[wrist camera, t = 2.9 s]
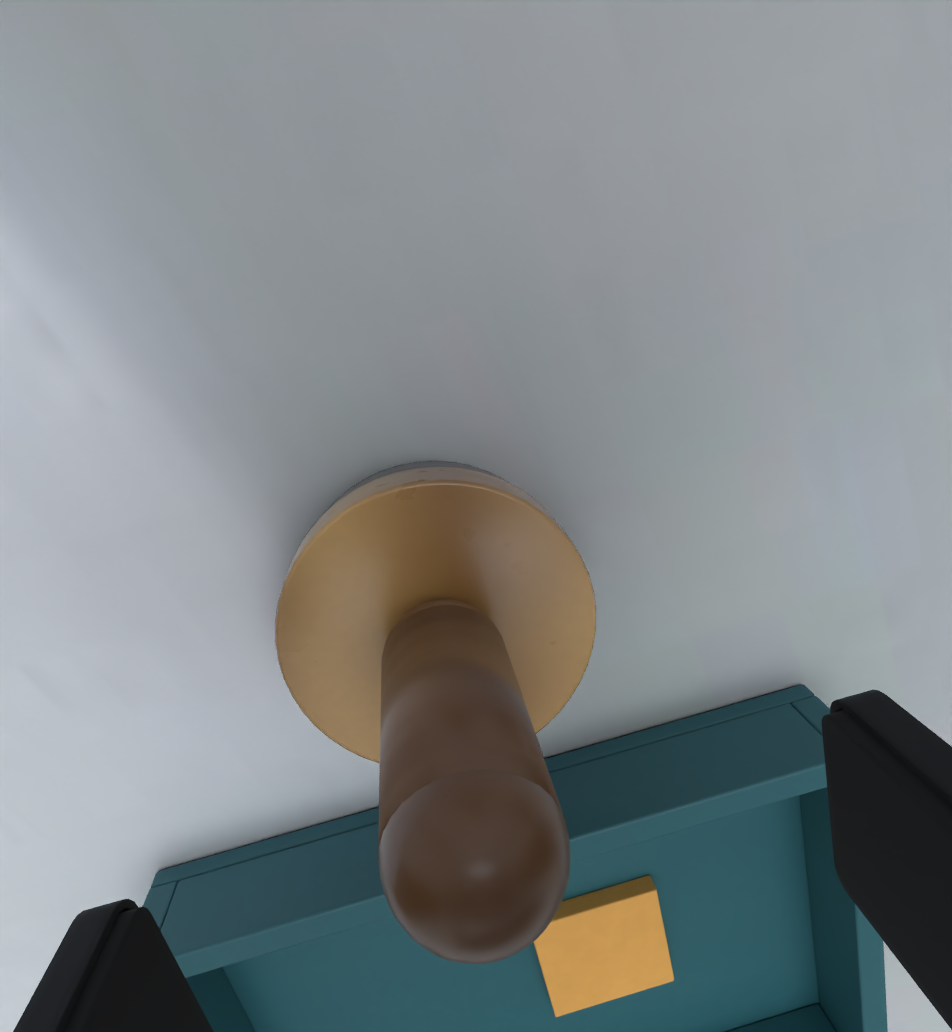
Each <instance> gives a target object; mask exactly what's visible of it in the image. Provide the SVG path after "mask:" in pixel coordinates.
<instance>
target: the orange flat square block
mask: <svg viewBox="0 0 952 1032" xmlns="http://www.w3.org/2000/svg"><path fill="white" fill-rule="evenodd" d="M534 945H535V949H536V952H537V956H538V959H539V963H540V966H541V969H542V973H543V976H544V980H545V983H546V987H547V990H548V993H549V997H550V1000H551V1004H552V1007H553V1011H554V1014H555V1016H556V1017H559V1016H562V1015H565V1014H568V1013H572V1012H575V1011H578V1010H581V1009H584V1008H588V1007H591V1006H594V1005H597V1004H601V1003H604V1002H607V1001H610V1000H614V999H617V998H620V997H623V996H627V995H630V994H633V993H636V992H640V991H643V990H646V989H649V988H653V987H656V986H659V985H662V984H666V983H669V982H672V981H674V975H673V970H672V965H671V960H670V955H669V949H668V944H667V939H666V934H665V929H664V924H663V919H662V914H661V909H660V904H659V899H658V894H657V890H656V887H655V885H654V883H653V881H652V879H651V876H650V875H647V876H644V877H640V878H637V879H634V880H630V881H627V882H624V883H620V884H617V885H614V886H610V887H607V888H604V889H600V890H597V891H594V892H590V893H587V894H584V895H581V896H577V897H574V898H571V899H567V900H564V901H562V902H561V905H560V908H559V910H558V911H557V913H556V914H555V916H554V918H553V919H552V921H551V922H550V924H549V925H548V927H547V928H546V930H545V931H544V932H543V933H542V934H541V935H540V936H539V937H538V938H537V940H535V941H534Z"/></svg>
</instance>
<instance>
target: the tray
mask: <svg viewBox="0 0 952 1032" xmlns="http://www.w3.org/2000/svg"><path fill="white" fill-rule="evenodd" d="M827 714H830V709H829V708H828V707H827V706H826V705H825V704H824V703H823V702H822V701H821V700H820V699H819V698H817V697H816V696H814V694H813V693H812V692H811V691H810V690H809V689H808V688H807V687H806V686H805V685H799V686H795V687H792V688H788V689H785V690H781V691H778V692H775V693H771V694H768V695H764V696H761V697H757V698H754V699H750V700H747V701H744V702H740V703H737V704H733V705H730V706H726V707H723V708H719V709H716V710H713V711H709V712H706V713H702V714H699V715H695V716H692V717H688V718H685V719H681V720H678V721H675V722H671V723H668V724H664V725H661V726H657V727H654V728H650V729H647V730H644V731H640V732H637V733H633V734H630V735H626V736H623V737H619V738H616V739H613V740H609V741H606V742H602V743H599V744H595V745H592V746H588V747H585V748H582V749H578V750H575V751H571V752H568V753H564V754H561V755H557V756H554V757H551V758H547V759H544V760H545V763H546V766H547V769H548V772H549V775H550V777H551V780H552V783H553V786H554V789H555V792H556V795H557V798H558V801H559V804H560V807H561V810H562V812H563V815H564V818H565V821H566V825H567V830H568V835H569V841H570V850H571V858H570V872H569V880H568V884H567V887H566V891H565V894H564V897H563V899H562V901H564V900H567V899H571V898H574V897H577V896H581V895H584V894H587V893H590V892H594V891H597V890H600V889H604V888H607V887H610V886H614V885H617V884H620V883H624V882H627V881H630V880H634V879H637V878H640V877H644V876H647V875H650V876H651V879H652V881H653V883H654V885H655V887H656V890H657V894H658V899H659V904H660V909H661V914H662V919H663V924H664V929H665V934H666V939H667V944H668V949H669V955H670V960H671V965H672V970H673V975H674V981H672V982H669V983H666V984H662V985H659V986H656V987H653V988H649V989H646V990H643V991H640V992H636V993H633V994H630V995H627V996H623V997H620V998H617V999H614V1000H610V1001H607V1002H604V1003H601V1004H597V1005H594V1006H591V1007H588V1008H584V1009H581V1010H578V1011H575V1012H572V1013H568V1014H565V1015H562V1016H559V1017H556V1016H555V1014H554V1011H553V1007H552V1004H551V1000H550V997H549V993H548V990H547V987H546V983H545V980H544V976H543V973H542V969H541V966H540V963H539V959H538V956H537V952H536V949H535V945H534V942H533V943H532V944H530V945H529V946H528V947H526V948H525V949H523V950H521V951H520V952H518V953H516V954H514V955H512V956H511V957H508V958H506V959H503V960H500V961H497V962H492V963H488V964H464V963H456V962H452V961H448V960H445V959H443V958H440V957H438V956H436V955H434V954H432V953H431V952H429V951H428V950H426V949H425V948H423V947H422V946H421V945H419V944H418V943H416V942H415V941H414V940H413V939H412V938H411V937H410V936H409V935H408V934H407V933H406V932H405V930H404V929H403V928H402V926H401V925H400V924H399V922H398V921H397V920H396V918H395V916H394V914H393V913H392V911H391V909H390V907H389V905H388V902H387V899H386V897H385V894H384V891H383V887H382V883H381V879H380V871H379V860H378V841H379V807H378V808H375V809H371V810H368V811H364V812H361V813H357V814H354V815H351V816H347V817H344V818H340V819H337V820H333V821H330V822H326V823H323V824H320V825H316V826H313V827H309V828H306V829H302V830H299V831H295V832H292V833H289V834H285V835H282V836H278V837H275V838H271V839H268V840H264V841H261V842H258V843H254V844H251V845H247V846H244V847H240V848H237V849H233V850H230V851H226V852H223V853H220V854H216V855H213V856H209V857H206V858H202V859H199V860H195V861H192V862H189V863H185V864H182V865H178V866H175V867H171V868H168V869H164V870H161V871H158V872H157V873H156V876H155V878H154V881H153V883H152V886H151V889H150V890H149V892H148V895H147V897H146V900H145V902H144V905H143V907H146V908H147V909H148V910H149V911H150V912H151V914H152V916H153V918H154V919H155V921H156V923H157V925H158V927H159V929H160V931H161V933H162V935H163V937H164V938H165V940H166V942H167V944H168V946H169V948H170V950H171V952H172V954H173V956H174V957H175V959H176V961H177V963H178V965H179V967H180V969H181V971H182V973H183V975H184V976H185V978H186V980H187V982H188V984H189V986H190V988H191V990H192V992H193V994H194V995H195V997H196V999H197V1001H198V1003H199V1005H200V1007H201V1009H202V1011H203V1013H204V1014H205V1016H206V1018H207V1020H208V1022H209V1024H210V1026H211V1028H212V1030H213V1031H214V1032H888V1031H887V1011H886V990H885V969H884V948H883V939H882V938H881V937H880V936H879V934H878V933H877V932H876V930H875V929H874V928H873V926H872V925H871V924H870V922H869V921H868V920H867V919H866V917H865V916H864V915H863V913H862V912H861V911H860V909H859V908H858V907H857V906H856V904H855V903H854V902H853V900H852V899H851V898H850V896H849V895H848V894H847V892H846V891H845V889H844V887H843V885H842V884H841V882H840V879H839V877H838V875H837V872H836V869H835V864H834V856H833V845H832V834H831V823H830V812H829V801H828V790H827V779H826V768H825V757H824V746H823V735H822V718H823V716H825V715H827Z"/></svg>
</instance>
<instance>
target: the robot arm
mask: <svg viewBox="0 0 952 1032" xmlns="http://www.w3.org/2000/svg"><path fill="white" fill-rule="evenodd" d="M822 735H823V746H824V757H825V768H826V779H827V790H828V801H829V812H830V823H831V834H832V845H833V856H834V864H835V869H836V872H837V875H838V877H839V879H840V882H841V884H842V885H843V887H844V889H845V891H846V892H847V894H848V895H849V896H850V898H851V899H852V900H853V902H854V903H855V904H856V906H857V907H858V908H859V909H860V911H861V912H862V913H863V915H864V916H865V917H866V919H867V920H868V921H869V922H870V924H871V925H872V926H873V928H874V929H875V930H876V932H877V933H878V934H879V936H880V937H881V938H882V939H883V941H884V942H885V943H886V945H887V946H888V947H889V949H890V950H891V951H892V952H893V954H894V955H895V956H896V958H897V959H898V960H899V962H900V963H901V964H902V965H903V967H904V968H905V969H906V971H907V972H908V973H909V975H910V976H911V977H912V979H913V980H914V981H915V982H916V984H917V985H918V986H919V988H920V989H921V990H922V992H923V993H924V994H925V995H926V997H927V998H928V999H929V1001H930V1002H931V1003H932V1005H933V1006H934V1007H935V1009H936V1010H937V1011H938V1012H939V1014H940V1015H941V1016H942V1018H943V1019H944V1020H945V1022H946V1023H947V1024H948V1025H949V1027H950V1028H951V1029H952V747H951V746H950V745H949V744H947V743H946V742H945V741H944V740H942V739H941V738H940V737H939V736H937V735H936V734H935V733H933V732H932V731H931V730H930V729H928V728H927V727H926V726H925V725H923V724H922V723H921V722H920V721H918V720H917V719H916V718H915V717H913V716H912V715H911V714H909V713H908V712H907V711H906V710H904V709H903V708H902V707H901V706H899V705H898V704H897V703H896V702H894V701H893V700H892V699H890V698H889V697H888V696H887V695H885V694H884V693H882V692H880V691H878V690H871V691H867V692H863V693H860V694H856V695H853V696H849V697H846V698H842V699H838V700H836V701H834V702H832V704H831V706H830V714H827V715H825V716H823V718H822ZM13 1032H214V1031H213V1030H212V1028H211V1026H210V1024H209V1022H208V1020H207V1018H206V1016H205V1014H204V1013H203V1011H202V1009H201V1007H200V1005H199V1003H198V1001H197V999H196V997H195V995H194V994H193V992H192V990H191V988H190V986H189V984H188V982H187V980H186V978H185V976H184V975H183V973H182V971H181V969H180V967H179V965H178V963H177V961H176V959H175V957H174V956H173V954H172V952H171V950H170V948H169V946H168V944H167V942H166V940H165V938H164V937H163V935H162V933H161V931H160V929H159V927H158V925H157V923H156V921H155V919H154V918H153V916H152V914H151V912H150V911H149V910H148V909H147V908H146V907H139V908H138V906H137V905H136V904H135V902H134V901H132V900H130V899H125V900H120V901H117V902H113V903H110V904H106V905H102V906H99V907H95V908H92V909H88V910H85V911H83V912H81V913H80V914H78V915H77V916H76V918H75V919H74V921H73V922H72V924H71V926H70V927H69V929H68V931H67V933H66V935H65V937H64V939H63V940H62V942H61V944H60V946H59V948H58V950H57V952H56V953H55V955H54V957H53V959H52V961H51V963H50V965H49V966H48V968H47V970H46V972H45V974H44V976H43V978H42V979H41V981H40V983H39V985H38V987H37V989H36V991H35V992H34V994H33V996H32V998H31V1000H30V1002H29V1004H28V1005H27V1007H26V1009H25V1011H24V1013H23V1015H22V1016H21V1018H20V1020H19V1022H18V1024H17V1026H16V1028H15V1029H14V1031H13Z"/></svg>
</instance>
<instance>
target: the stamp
mask: <svg viewBox="0 0 952 1032" xmlns="http://www.w3.org/2000/svg"><path fill="white" fill-rule="evenodd" d="M595 630H596V606H595V598H594V591H593V587H592V584H591V580H590V577H589V573H588V571H587V569H586V566H585V564H584V562H583V560H582V557H581V556H580V554H579V552H578V551H577V549H576V548H575V546H574V544H573V543H572V541H571V540H570V538H569V537H568V536H567V535H566V533H565V532H564V531H563V529H562V528H561V527H560V525H559V524H558V523H557V522H556V521H555V519H554V518H553V517H552V516H551V515H550V514H549V512H548V511H547V510H546V509H545V508H544V507H542V506H541V505H540V504H539V503H538V502H537V501H536V500H535V499H533V498H532V497H531V496H529V495H528V494H526V493H525V492H523V491H522V490H520V489H519V488H517V487H516V486H514V485H511V484H509V483H508V482H506V481H505V480H503V479H502V478H500V477H497V476H495V475H493V474H491V473H489V472H487V471H485V470H482V469H479V468H476V467H473V466H470V465H465V464H459V463H454V462H442V461H426V462H414V463H409V464H404V465H399V466H395V467H392V468H390V469H387V470H384V471H381V472H378V473H376V474H374V475H372V476H370V477H368V478H366V479H364V480H362V481H361V482H359V483H358V484H356V485H355V486H353V487H352V488H350V489H349V490H348V491H347V492H345V493H344V494H343V495H342V496H341V497H340V498H338V499H337V500H336V501H335V502H334V503H333V504H332V506H331V507H330V508H329V509H328V510H327V511H326V512H325V513H324V514H323V515H322V516H321V517H320V518H319V520H318V521H317V522H316V523H315V524H314V525H313V526H312V528H311V529H310V530H309V532H308V533H307V535H306V536H305V538H304V539H303V541H302V542H301V544H300V545H299V547H298V550H297V552H296V554H295V556H294V558H293V560H292V562H291V565H290V567H289V570H288V573H287V576H286V578H285V581H284V584H283V587H282V591H281V594H280V597H279V600H278V606H277V612H276V619H275V643H276V650H277V656H278V662H279V665H280V668H281V671H282V674H283V678H284V680H285V682H286V684H287V686H288V688H289V690H290V693H291V695H292V696H293V698H294V699H295V701H296V702H297V704H298V705H299V707H300V708H301V710H302V711H303V713H304V714H305V715H306V716H307V717H308V718H309V719H310V721H311V722H312V723H313V724H314V725H315V726H316V727H317V728H318V729H319V730H320V731H322V732H323V733H324V734H325V735H326V736H328V737H329V738H330V739H331V740H333V741H334V742H336V743H337V744H339V745H341V746H342V747H344V748H345V749H347V750H349V751H351V752H353V753H355V754H357V755H359V756H361V757H363V758H366V759H369V760H372V761H375V762H378V763H380V781H379V841H378V860H379V871H380V879H381V883H382V887H383V891H384V894H385V897H386V899H387V902H388V905H389V907H390V909H391V911H392V913H393V914H394V916H395V918H396V920H397V921H398V922H399V924H400V925H401V926H402V928H403V929H404V930H405V932H406V933H407V934H408V935H409V936H410V937H411V938H412V939H413V940H414V941H415V942H416V943H418V944H419V945H421V946H422V947H423V948H425V949H426V950H428V951H429V952H431V953H432V954H434V955H436V956H438V957H440V958H443V959H445V960H448V961H452V962H456V963H464V964H488V963H492V962H497V961H500V960H503V959H506V958H508V957H511V956H512V955H514V954H516V953H518V952H520V951H521V950H523V949H525V948H526V947H528V946H529V945H530V944H532V943H533V942H534V941H535V940H537V938H538V937H539V936H540V935H541V934H542V933H543V932H544V931H545V930H546V928H547V927H548V925H549V924H550V922H551V921H552V919H553V918H554V916H555V914H556V913H557V911H558V910H559V908H560V905H561V902H562V899H563V897H564V894H565V891H566V887H567V884H568V880H569V872H570V858H571V850H570V841H569V835H568V830H567V825H566V821H565V818H564V815H563V812H562V810H561V807H560V804H559V801H558V798H557V795H556V792H555V789H554V786H553V783H552V780H551V777H550V775H549V772H548V769H547V766H546V763H545V760H544V757H543V754H542V751H541V748H540V745H539V742H538V740H537V737H536V733H537V732H539V731H540V730H541V729H542V728H544V727H545V726H546V725H547V724H548V723H549V722H550V721H551V720H552V719H553V718H554V717H555V716H556V715H557V714H558V713H559V712H560V710H561V709H562V708H563V707H564V705H565V704H566V703H567V702H568V700H569V699H570V698H571V696H572V694H573V693H574V691H575V690H576V688H577V686H578V685H579V683H580V681H581V679H582V676H583V674H584V672H585V670H586V668H587V665H588V662H589V658H590V655H591V652H592V648H593V643H594V636H595Z"/></svg>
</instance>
